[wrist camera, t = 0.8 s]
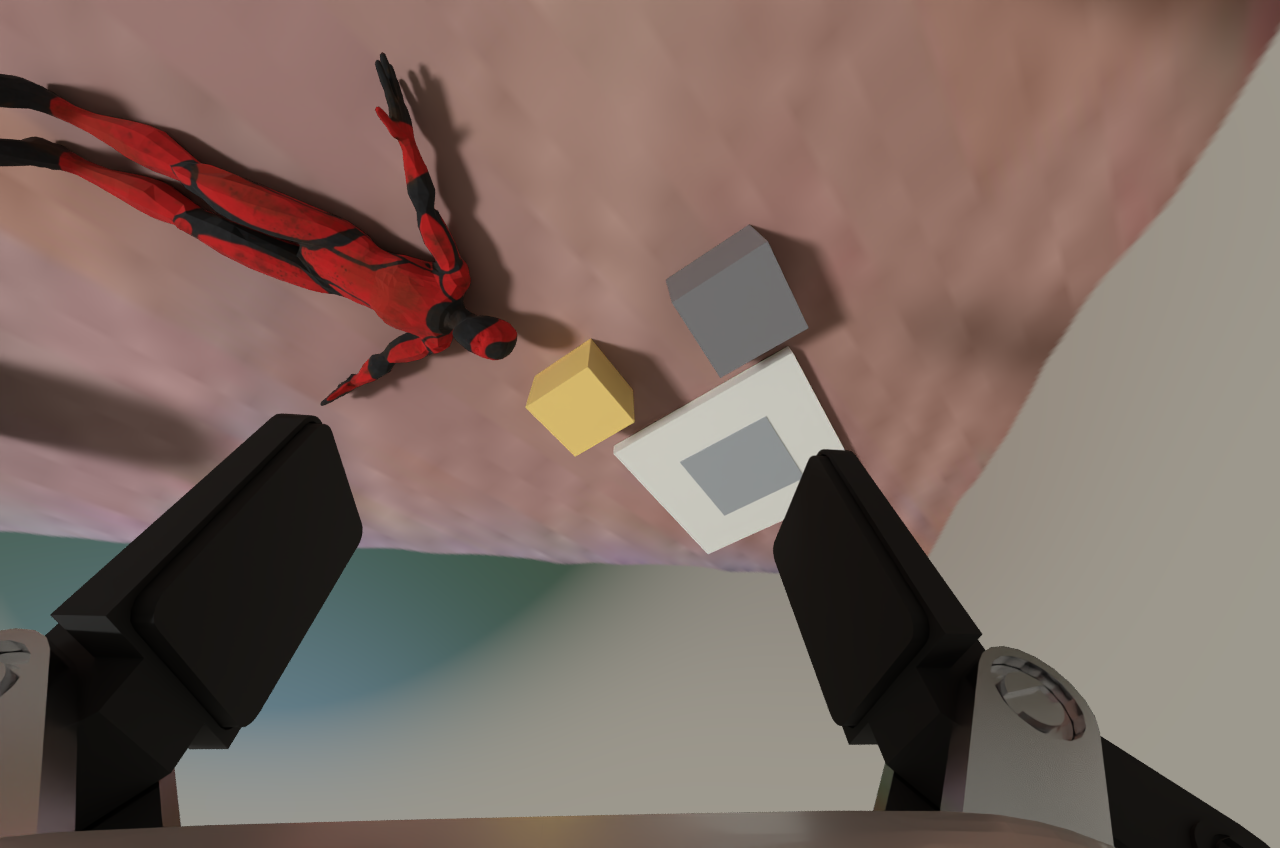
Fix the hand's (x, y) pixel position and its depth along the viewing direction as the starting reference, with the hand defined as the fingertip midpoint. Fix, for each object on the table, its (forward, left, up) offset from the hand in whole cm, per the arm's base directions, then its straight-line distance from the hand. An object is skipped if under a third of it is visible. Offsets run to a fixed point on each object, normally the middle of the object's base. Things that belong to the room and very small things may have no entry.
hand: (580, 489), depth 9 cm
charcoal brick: (-5, +10, -28) cm, 29 cm away
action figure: (+18, -11, -28) cm, 35 cm away
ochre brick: (+9, +10, -28) cm, 31 cm away
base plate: (+2, +26, -27) cm, 37 cm away
